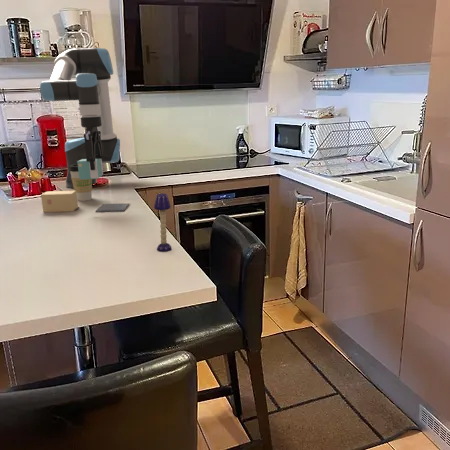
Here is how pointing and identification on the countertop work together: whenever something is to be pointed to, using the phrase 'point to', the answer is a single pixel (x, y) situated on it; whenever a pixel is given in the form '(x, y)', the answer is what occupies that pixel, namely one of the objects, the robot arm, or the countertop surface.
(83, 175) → the teal cube
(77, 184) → the coffee cup
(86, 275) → the countertop surface
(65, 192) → the tan cardboard box
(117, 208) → the pad
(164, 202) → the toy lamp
